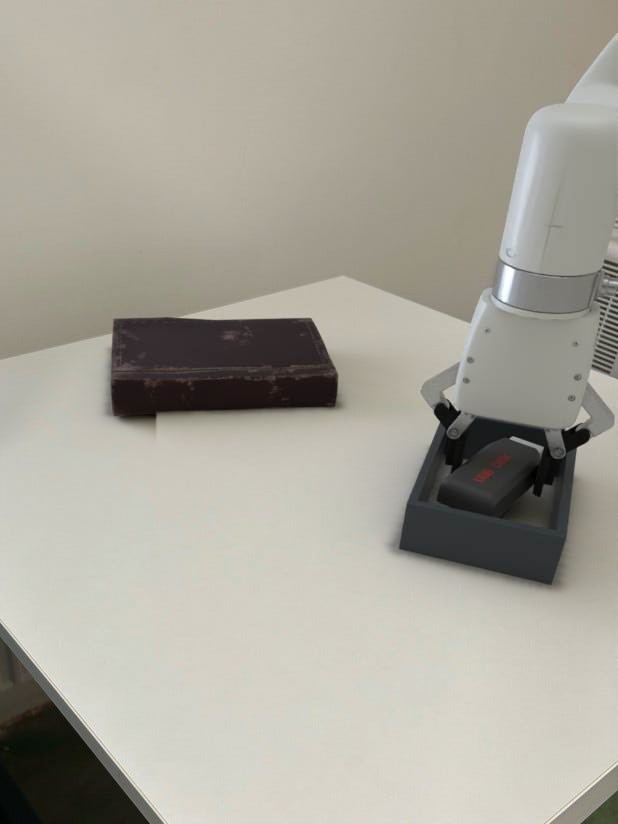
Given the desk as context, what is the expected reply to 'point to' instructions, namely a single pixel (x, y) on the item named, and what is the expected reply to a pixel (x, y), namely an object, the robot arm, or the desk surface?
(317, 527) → the desk surface
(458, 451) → the robot arm
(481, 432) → the tub
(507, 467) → the usb drive
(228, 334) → the diary
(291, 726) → the desk surface
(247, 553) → the desk surface
